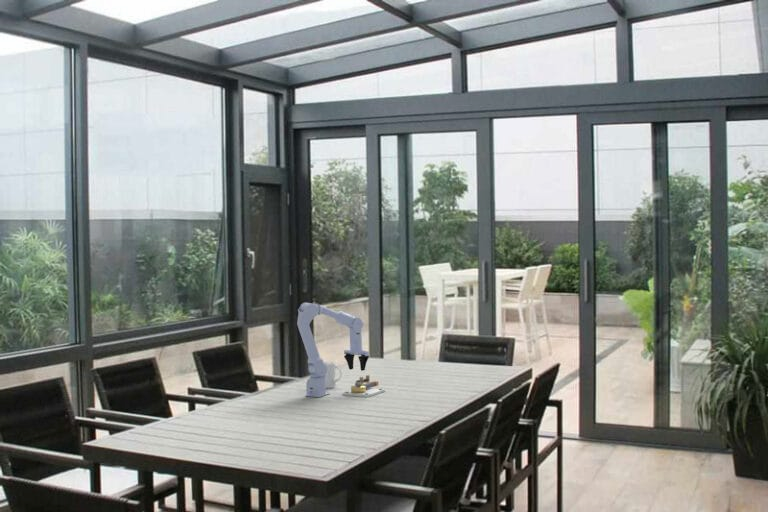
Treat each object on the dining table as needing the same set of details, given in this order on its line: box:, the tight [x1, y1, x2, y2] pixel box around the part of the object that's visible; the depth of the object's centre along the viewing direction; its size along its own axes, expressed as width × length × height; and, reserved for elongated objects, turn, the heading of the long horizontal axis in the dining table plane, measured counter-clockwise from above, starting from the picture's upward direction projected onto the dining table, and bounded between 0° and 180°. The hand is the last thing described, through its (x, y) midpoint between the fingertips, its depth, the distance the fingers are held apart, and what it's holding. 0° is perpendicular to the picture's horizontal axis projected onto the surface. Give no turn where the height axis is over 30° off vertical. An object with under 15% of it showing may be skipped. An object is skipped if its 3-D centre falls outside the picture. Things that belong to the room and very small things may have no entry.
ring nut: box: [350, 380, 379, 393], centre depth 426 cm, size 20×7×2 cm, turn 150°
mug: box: [323, 361, 343, 389], centre depth 442 cm, size 12×8×12 cm
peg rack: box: [355, 374, 373, 385], centre depth 441 cm, size 10×5×5 cm, turn 150°
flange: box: [342, 382, 386, 398], centre depth 422 cm, size 16×14×5 cm
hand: (357, 369), depth 430 cm, fingers open, 7 cm apart
